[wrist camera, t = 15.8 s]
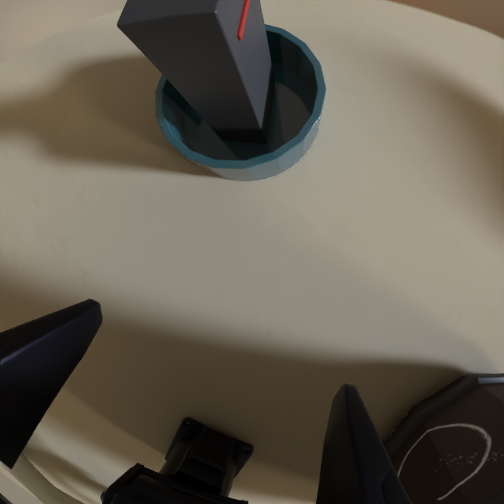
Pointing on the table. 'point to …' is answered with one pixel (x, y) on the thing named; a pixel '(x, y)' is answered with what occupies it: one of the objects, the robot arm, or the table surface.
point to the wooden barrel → (453, 444)
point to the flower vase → (38, 483)
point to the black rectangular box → (210, 59)
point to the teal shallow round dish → (281, 121)
